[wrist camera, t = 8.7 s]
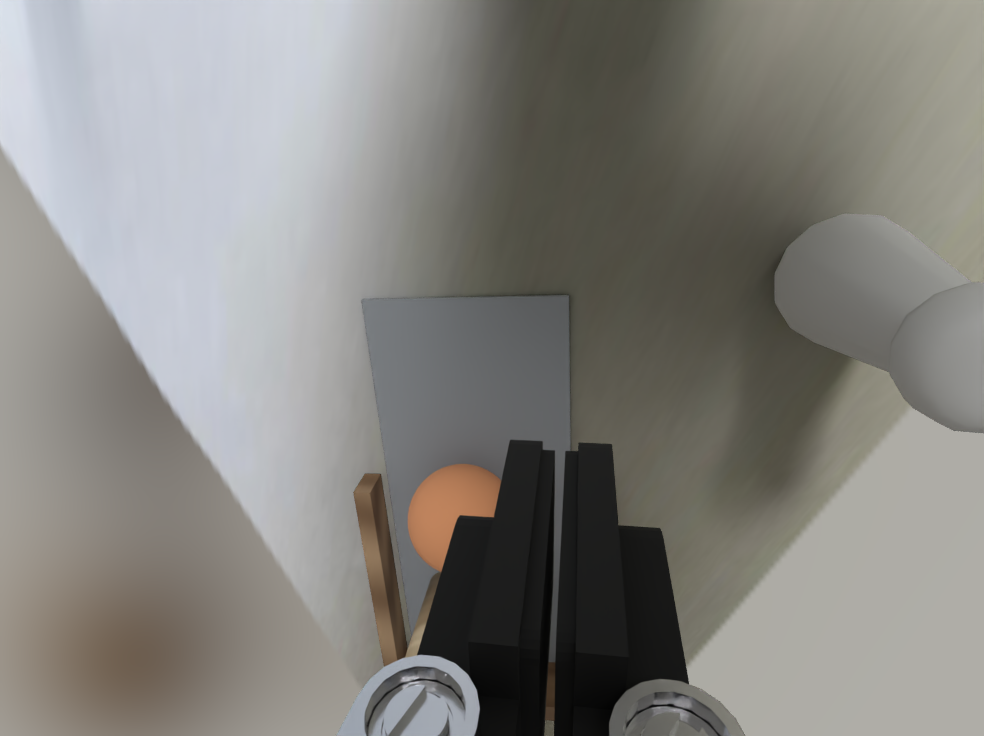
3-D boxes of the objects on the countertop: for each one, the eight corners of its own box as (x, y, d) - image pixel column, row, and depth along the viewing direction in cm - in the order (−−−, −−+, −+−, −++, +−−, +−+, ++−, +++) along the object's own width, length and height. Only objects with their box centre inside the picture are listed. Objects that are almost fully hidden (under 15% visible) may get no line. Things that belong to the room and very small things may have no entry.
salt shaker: (888, 319, 28) (1115, 462, 16) (761, 334, 29) (886, 478, 17) (895, 194, 26) (1162, 253, 14) (759, 216, 27) (899, 288, 15)
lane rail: (365, 473, 36) (343, 507, 33) (597, 479, 34) (598, 516, 30) (395, 660, 42) (380, 705, 38) (595, 675, 40) (596, 724, 36)
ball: (399, 591, 32) (431, 512, 37) (506, 607, 31) (525, 524, 36) (384, 511, 29) (421, 437, 34) (503, 526, 28) (523, 447, 33)
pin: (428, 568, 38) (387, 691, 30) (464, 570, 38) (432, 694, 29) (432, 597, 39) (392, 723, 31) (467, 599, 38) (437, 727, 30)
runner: (362, 299, 31) (361, 300, 31) (569, 294, 30) (569, 295, 30) (415, 656, 41) (414, 658, 41) (572, 667, 40) (572, 670, 39)
